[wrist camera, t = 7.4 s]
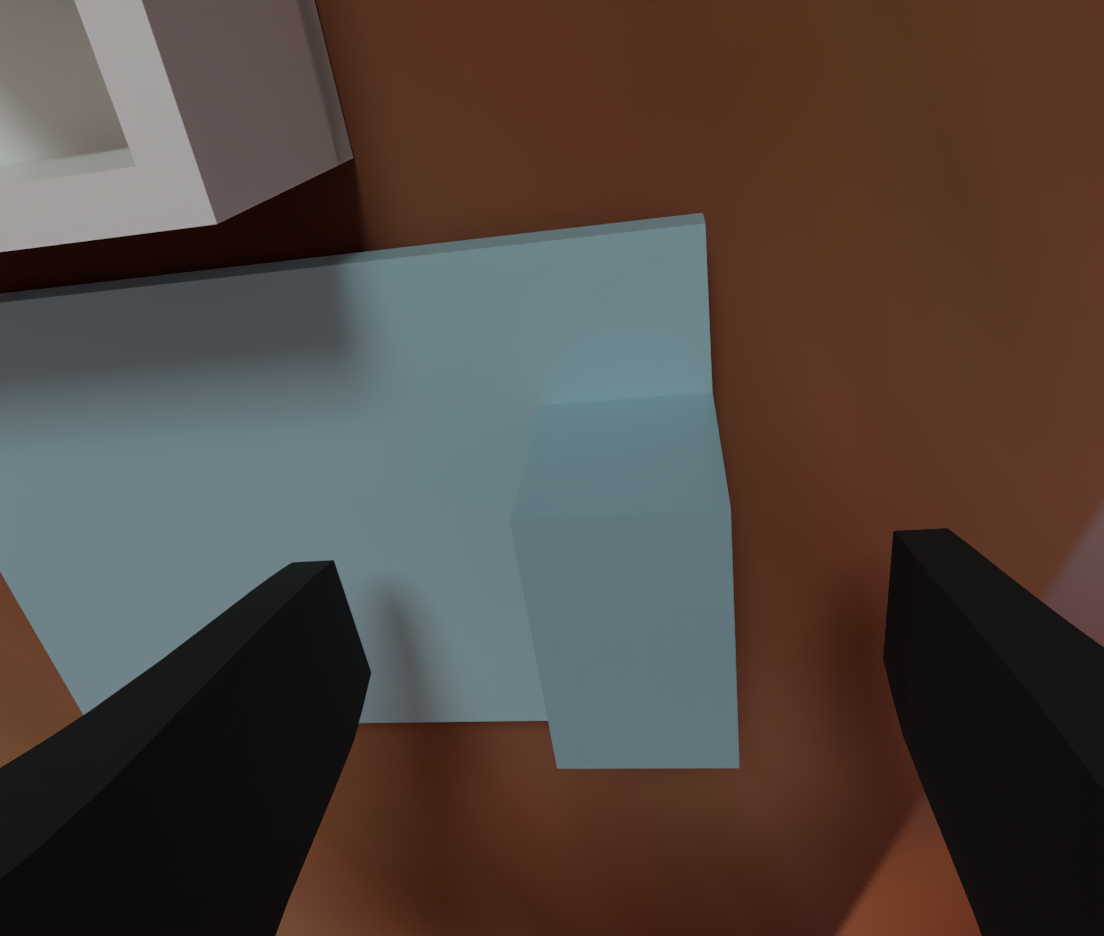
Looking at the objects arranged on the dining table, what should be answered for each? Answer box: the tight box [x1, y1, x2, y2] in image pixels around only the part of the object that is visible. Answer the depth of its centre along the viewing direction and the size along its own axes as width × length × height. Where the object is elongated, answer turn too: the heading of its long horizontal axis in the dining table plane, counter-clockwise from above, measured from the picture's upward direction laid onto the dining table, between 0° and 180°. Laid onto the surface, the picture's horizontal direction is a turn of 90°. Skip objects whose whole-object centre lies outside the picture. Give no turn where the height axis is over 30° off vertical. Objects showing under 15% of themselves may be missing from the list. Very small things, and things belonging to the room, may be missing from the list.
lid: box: [0, 213, 739, 769], centre depth 12 cm, size 13×9×4 cm
